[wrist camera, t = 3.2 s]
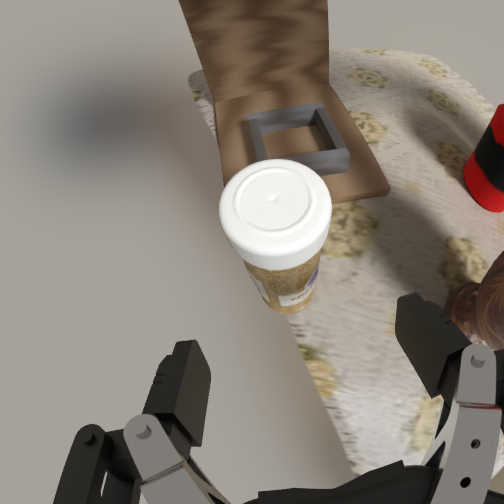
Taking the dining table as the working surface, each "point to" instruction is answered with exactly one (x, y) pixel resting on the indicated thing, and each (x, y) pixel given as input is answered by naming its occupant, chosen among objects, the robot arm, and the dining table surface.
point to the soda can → (488, 166)
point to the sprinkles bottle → (278, 228)
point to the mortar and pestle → (481, 308)
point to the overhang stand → (280, 92)
